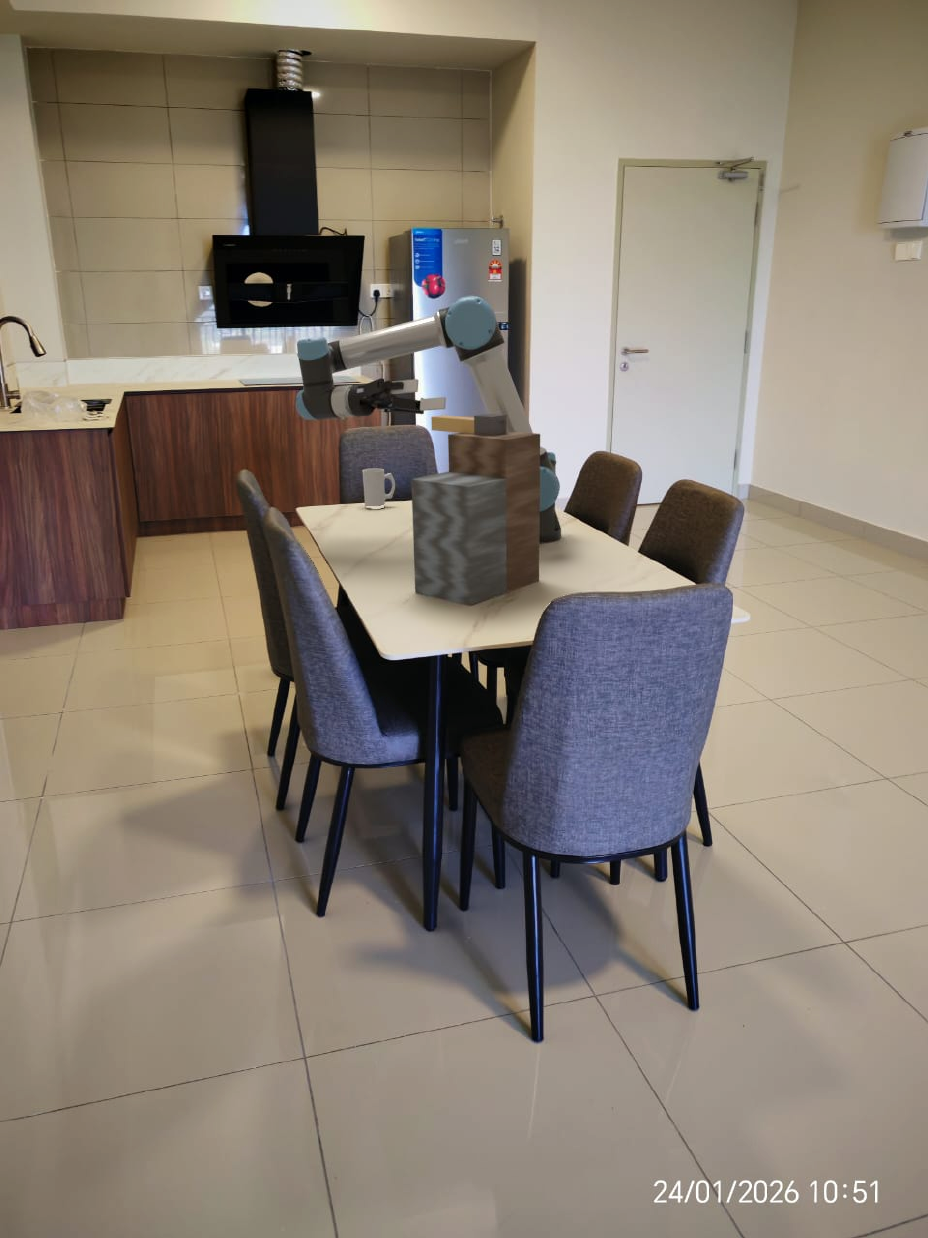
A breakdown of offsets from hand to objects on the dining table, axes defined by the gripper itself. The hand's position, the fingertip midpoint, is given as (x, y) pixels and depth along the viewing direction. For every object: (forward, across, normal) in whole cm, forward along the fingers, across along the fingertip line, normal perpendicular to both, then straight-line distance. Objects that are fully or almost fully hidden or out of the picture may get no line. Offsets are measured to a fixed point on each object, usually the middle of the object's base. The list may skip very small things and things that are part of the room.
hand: (431, 394), depth 215 cm
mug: (-51, -63, -14) cm, 82 cm away
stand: (+15, -1, -45) cm, 47 cm away
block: (+12, +4, -11) cm, 17 cm away
